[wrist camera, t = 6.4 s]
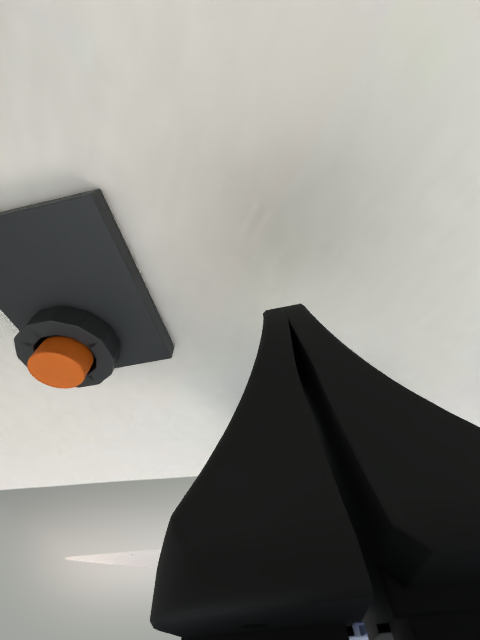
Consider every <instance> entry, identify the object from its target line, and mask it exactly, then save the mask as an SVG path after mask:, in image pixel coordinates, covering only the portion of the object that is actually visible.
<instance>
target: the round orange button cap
mask: <svg viewBox="0 0 480 640" xmlns="http://www.w3.org/2000/svg"><path fill="white" fill-rule="evenodd" d="M92 364H93V354H92V352H91V351H90V349H89V348H88V347H87V346H86V345H84V344H83V343H81V342H79V341H77V340H76V339H74V338H70V337H65V336H53V337H49V338H47V339H45V340H44V341H43V342H42V343H41V344H40V346H39V347H38V348H37V349H36V350H35V352H34V353H33V354H32V355H31V357H30V358H29V359H28V363H27V367H28V370H29V372H30V373H31V374H32V376H33V377H35V378H36V379H37V380H38V381H40V382H42V383H44V384H46V385H49V386H52V387H56V388H73V387H76V386H78V385H80V384H81V383H82V382H83V381H84V379H85V377H86V375H87V373H88V371H89V370H90V368H91V366H92Z"/></svg>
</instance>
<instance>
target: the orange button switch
mask: <svg viewBox="0 0 480 640" xmlns="http://www.w3.org/2000/svg"><path fill="white" fill-rule="evenodd" d="M0 309H1V310H2V312H3V313H4V314H5V315H6V316H7V317H8V318H9V319H10V321H11V322H12V323H13V324H14V325H15V326H16V327H17V328H18V329H19V331H20V332H19V333H18V334H17V335H16V336H15V338H14V343H15V348H16V353H17V356H18V358H19V359H20V360H21V361H22V362H23V363H24V364H25V365H26V366H27V363H28V359H29V358H30V357H31V355H32V354H33V353H34V352H35V350H36V349H37V348H38V347H39V346H40V344H41V343H42V342H43V341H44V340H45V339H47V338H49V337H53V336H65V337H70V338H74V339H76V340H77V341H79V342H81V343H83V344H84V345H86V346H87V347H88V348H89V349H90V351H91V352H92V354H93V364H92V366H91V368H90V370H89V371H88V373H87V375H86V377H85V379H84V381H83V382H82V383H81V384H80V385H78V386H76V387H85V386H91V385H97V384H100V383H101V382H102V381H103V380H105V379H106V378H107V377H108V376H110V375H111V374H112V372H113V370H114V368H119V367H124V366H130V365H135V364H141V363H147V362H152V361H158V360H164V359H169V358H172V354H173V350H174V346H173V344H172V341H171V339H170V337H169V335H168V333H167V331H166V329H165V327H164V324H163V322H162V320H161V318H160V316H159V314H158V312H157V310H156V307H155V305H154V303H153V301H152V299H151V297H150V295H149V293H148V290H147V288H146V286H145V284H144V282H143V280H142V278H141V275H140V273H139V271H138V269H137V267H136V265H135V263H134V261H133V258H132V256H131V254H130V252H129V250H128V248H127V246H126V244H125V241H124V239H123V237H122V235H121V233H120V231H119V229H118V227H117V224H116V222H115V220H114V218H113V216H112V214H111V212H110V209H109V207H108V205H107V203H106V201H105V199H104V197H103V195H102V192H101V190H100V189H97V190H93V191H89V192H84V193H80V194H76V195H72V196H68V197H63V198H59V199H55V200H51V201H47V202H42V203H38V204H34V205H30V206H26V207H21V208H17V209H13V210H9V211H5V212H0Z"/></svg>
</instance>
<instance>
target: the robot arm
mask: <svg viewBox="0 0 480 640" xmlns="http://www.w3.org/2000/svg"><path fill="white" fill-rule="evenodd" d="M263 317H264V320H263V330H262V336H261V341H260V345H259V349H258V353H257V357H256V360H255V363H254V366H253V369H252V372H251V375H250V378H249V381H248V383H247V386H246V388H245V391H244V393H243V395H242V398H241V400H240V402H239V404H238V406H237V409H236V411H235V413H234V415H233V417H232V419H231V421H230V423H229V425H228V427H227V429H226V430H225V432H224V434H223V436H222V438H221V439H220V441H219V443H218V444H217V446H216V448H215V449H214V451H213V453H212V455H211V456H210V458H209V460H208V461H207V463H206V465H205V466H204V468H203V469H202V471H201V473H200V474H199V476H198V477H197V479H196V480H195V482H194V483H193V485H192V486H191V487H190V489H189V490H188V492H187V493H186V495H185V496H184V498H183V499H182V501H181V502H180V504H179V505H178V507H177V508H176V509H175V511H174V512H173V514H172V516H171V518H170V521H169V524H168V528H167V531H166V535H165V538H164V542H163V546H162V550H161V554H160V558H159V562H158V567H157V573H156V580H155V588H154V595H153V603H152V609H151V616H150V622H151V624H152V626H153V628H154V629H157V630H159V631H162V632H166V633H170V634H173V635H176V636H180V637H182V638H181V640H480V427H478V426H476V425H474V424H472V423H470V422H468V421H466V420H464V419H462V418H460V417H458V416H456V415H454V414H452V413H450V412H448V411H446V410H444V409H442V408H441V407H439V406H437V405H435V404H433V403H432V402H430V401H428V400H426V399H424V398H423V397H421V396H419V395H417V394H415V393H414V392H412V391H410V390H408V389H407V388H405V387H403V386H402V385H400V384H399V383H397V382H395V381H394V380H392V379H391V378H389V377H388V376H386V375H385V374H383V373H382V372H380V371H379V370H377V369H376V368H374V367H373V366H371V365H370V364H369V363H367V362H366V361H365V360H363V359H362V358H361V357H359V356H358V355H357V354H355V353H354V352H353V351H352V350H350V349H349V348H348V347H347V346H345V345H344V344H343V343H342V342H341V341H340V340H338V339H337V338H336V337H335V336H334V335H333V334H332V333H330V332H329V331H328V330H327V329H326V328H325V327H324V326H323V325H322V324H321V323H320V322H319V321H318V320H317V319H316V318H315V317H314V316H313V315H312V314H311V313H310V312H309V311H308V310H307V309H306V307H305V306H304V305H302V304H297V305H292V306H286V307H281V308H276V309H271V310H266V311H265V312H264V313H263Z"/></svg>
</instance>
